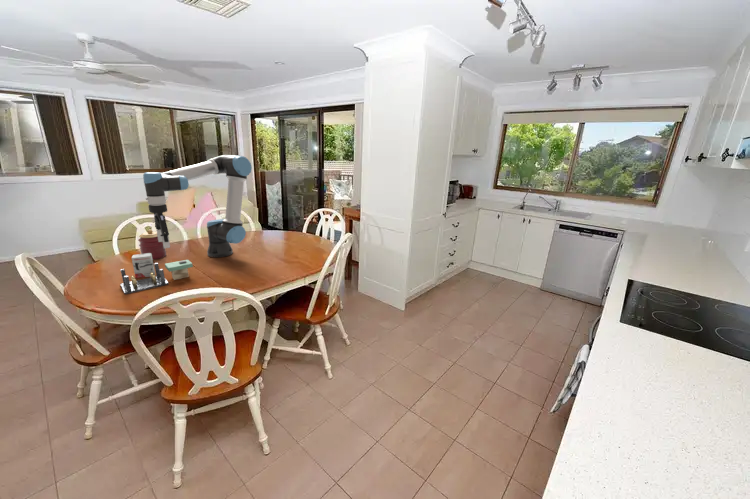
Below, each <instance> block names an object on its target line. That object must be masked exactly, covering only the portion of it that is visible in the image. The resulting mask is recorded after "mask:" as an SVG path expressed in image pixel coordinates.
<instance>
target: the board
mask: <svg viewBox="0 0 750 499" xmlns="http://www.w3.org/2000/svg"><path fill="white" fill-rule="evenodd" d="M164 268H165V269H166V270H167V271H168V272H169V273H170V272H171V271H175V270H180V269H185V268H188V269H190V268H194V265H193V262H191V261H190V260H189V259H184V260H179V261H178V260H177V261H173V262H168V263H167V262H166V263H164Z"/></svg>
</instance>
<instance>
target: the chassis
mask: <svg viewBox="0 0 750 499" xmlns="http://www.w3.org/2000/svg"><path fill="white" fill-rule="evenodd" d="M153 264H154V270H155V275H154V273H153V272H151V273H150V275H151V276H150V277H145V278H140V279H137V278H136V277H135V275H130V277H129V275H126V274H127V273H126V270H125V268H121V269H120V274H121V277H122V278H121V279H122V283H119V284H120V288H121V289H122V291H123V293H124V295H128V294H133V293H137V292H143V291H145V290H146V291H147V290H151V289H156V288H161V287H165V286H169V285H170V284H169V281H168V280H167V279H166V278H165V272H164V269H163V268H160V266H159V263H158V262H155V263H154V262H153ZM130 279H131V281H130Z"/></svg>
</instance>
